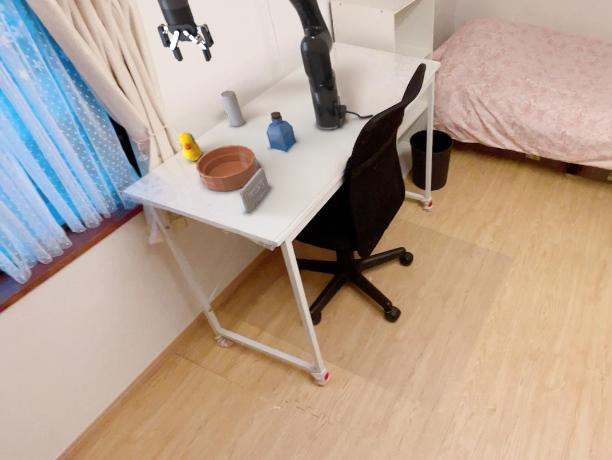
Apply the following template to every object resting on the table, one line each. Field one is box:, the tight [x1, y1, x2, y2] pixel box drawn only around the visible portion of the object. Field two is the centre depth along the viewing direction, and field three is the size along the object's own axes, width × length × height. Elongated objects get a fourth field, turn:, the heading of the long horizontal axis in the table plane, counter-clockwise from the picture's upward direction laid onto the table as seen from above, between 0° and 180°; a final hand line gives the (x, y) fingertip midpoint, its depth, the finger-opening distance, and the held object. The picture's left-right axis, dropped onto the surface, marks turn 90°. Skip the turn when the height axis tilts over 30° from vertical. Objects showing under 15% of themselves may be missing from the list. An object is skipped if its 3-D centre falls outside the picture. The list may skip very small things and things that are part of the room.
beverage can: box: [220, 90, 245, 128], centre depth 155 cm, size 5×5×12 cm
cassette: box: [239, 167, 270, 213], centre depth 126 cm, size 12×2×8 cm, turn 166°
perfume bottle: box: [265, 111, 297, 152], centre depth 146 cm, size 6×6×12 cm
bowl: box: [195, 144, 260, 192], centre depth 136 cm, size 17×17×6 cm
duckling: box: [178, 132, 203, 162], centre depth 140 cm, size 11×5×10 cm, turn 25°
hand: (194, 60), depth 133 cm, fingers open, 8 cm apart
